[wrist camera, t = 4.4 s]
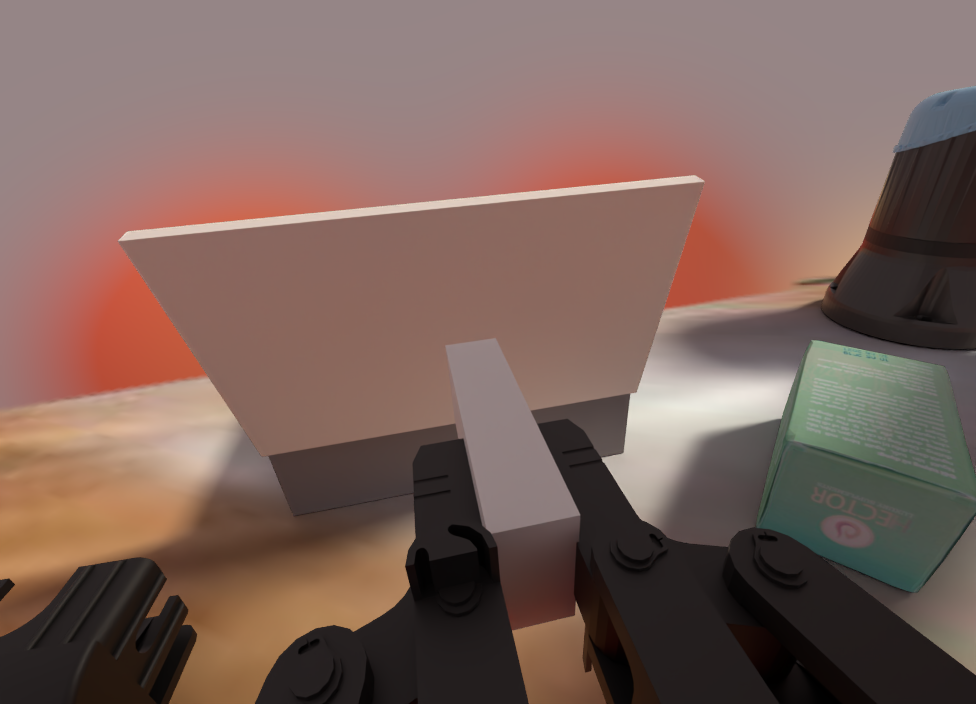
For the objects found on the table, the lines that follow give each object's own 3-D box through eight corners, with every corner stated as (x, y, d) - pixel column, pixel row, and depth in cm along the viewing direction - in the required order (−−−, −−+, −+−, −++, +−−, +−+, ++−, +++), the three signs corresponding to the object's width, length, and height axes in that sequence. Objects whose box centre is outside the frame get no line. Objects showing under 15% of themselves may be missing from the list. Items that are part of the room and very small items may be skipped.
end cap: (-164, 884, 15) (-354, 819, 12) (5, 665, 21) (-90, 584, 18) (132, 818, 16) (29, 742, 13) (211, 627, 22) (155, 544, 19)
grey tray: (560, 363, 44) (561, 311, 41) (623, 452, 32) (630, 386, 29) (324, 401, 41) (308, 346, 38) (293, 515, 28) (265, 448, 26)
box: (750, 534, 25) (785, 437, 21) (780, 418, 34) (808, 336, 31) (918, 607, 21) (995, 501, 17) (900, 452, 30) (948, 362, 27)
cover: (694, 175, 19) (704, 181, 19) (631, 383, 29) (636, 392, 28) (127, 231, 16) (117, 241, 16) (264, 445, 26) (261, 456, 25)
